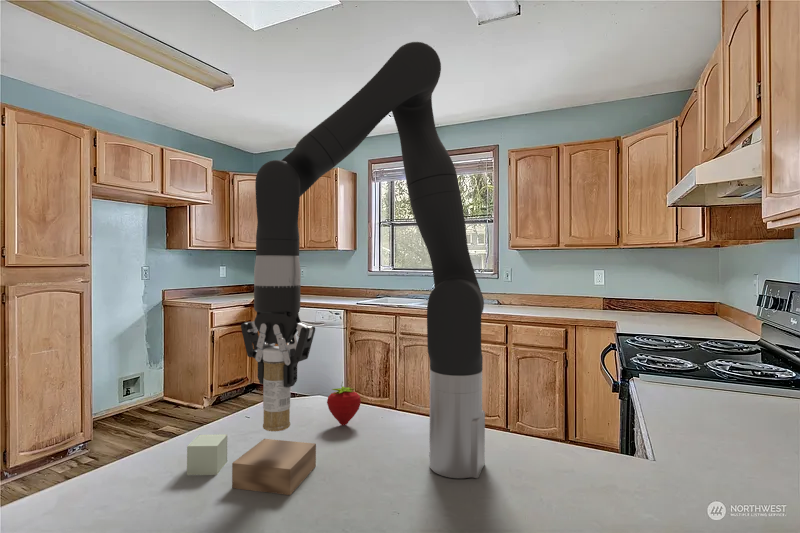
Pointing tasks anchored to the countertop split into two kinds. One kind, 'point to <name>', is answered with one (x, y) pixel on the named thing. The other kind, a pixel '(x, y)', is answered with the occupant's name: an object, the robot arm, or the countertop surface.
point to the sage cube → (206, 455)
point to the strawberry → (343, 404)
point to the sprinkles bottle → (275, 391)
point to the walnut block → (274, 466)
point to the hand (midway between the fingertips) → (277, 384)
